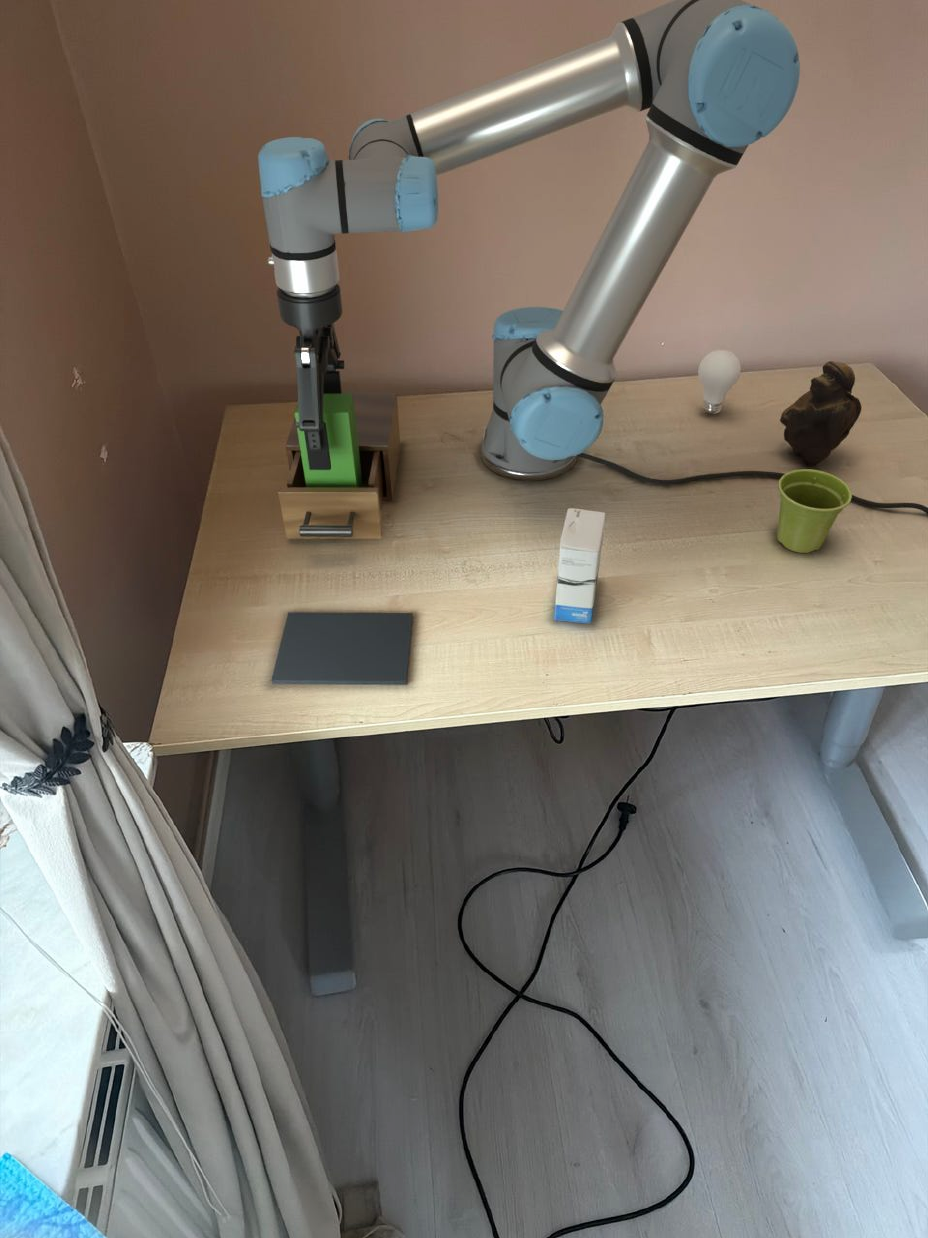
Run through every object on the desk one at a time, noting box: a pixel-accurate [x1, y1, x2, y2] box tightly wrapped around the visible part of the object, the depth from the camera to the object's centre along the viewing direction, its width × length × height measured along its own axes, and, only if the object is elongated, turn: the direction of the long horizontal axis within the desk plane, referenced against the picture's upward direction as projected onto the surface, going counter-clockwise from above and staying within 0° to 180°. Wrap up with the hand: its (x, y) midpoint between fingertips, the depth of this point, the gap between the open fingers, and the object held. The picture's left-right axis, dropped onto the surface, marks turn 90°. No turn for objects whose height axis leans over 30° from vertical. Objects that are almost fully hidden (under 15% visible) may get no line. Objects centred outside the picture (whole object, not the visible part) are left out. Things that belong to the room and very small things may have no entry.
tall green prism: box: [294, 394, 363, 488], centre depth 123 cm, size 7×5×17 cm
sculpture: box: [779, 360, 862, 467], centre depth 135 cm, size 11×11×15 cm
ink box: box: [553, 507, 606, 625], centre depth 112 cm, size 8×5×12 cm, turn 168°
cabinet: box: [285, 391, 401, 503], centre depth 136 cm, size 16×15×10 cm
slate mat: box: [270, 611, 414, 686], centre depth 110 cm, size 16×12×1 cm
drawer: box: [277, 451, 385, 540], centre depth 126 cm, size 19×13×8 cm
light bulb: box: [697, 349, 742, 415], centre depth 147 cm, size 7×7×11 cm
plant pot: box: [776, 468, 853, 554], centre depth 122 cm, size 9×9×9 cm
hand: (327, 440), depth 121 cm, fingers open, 13 cm apart
